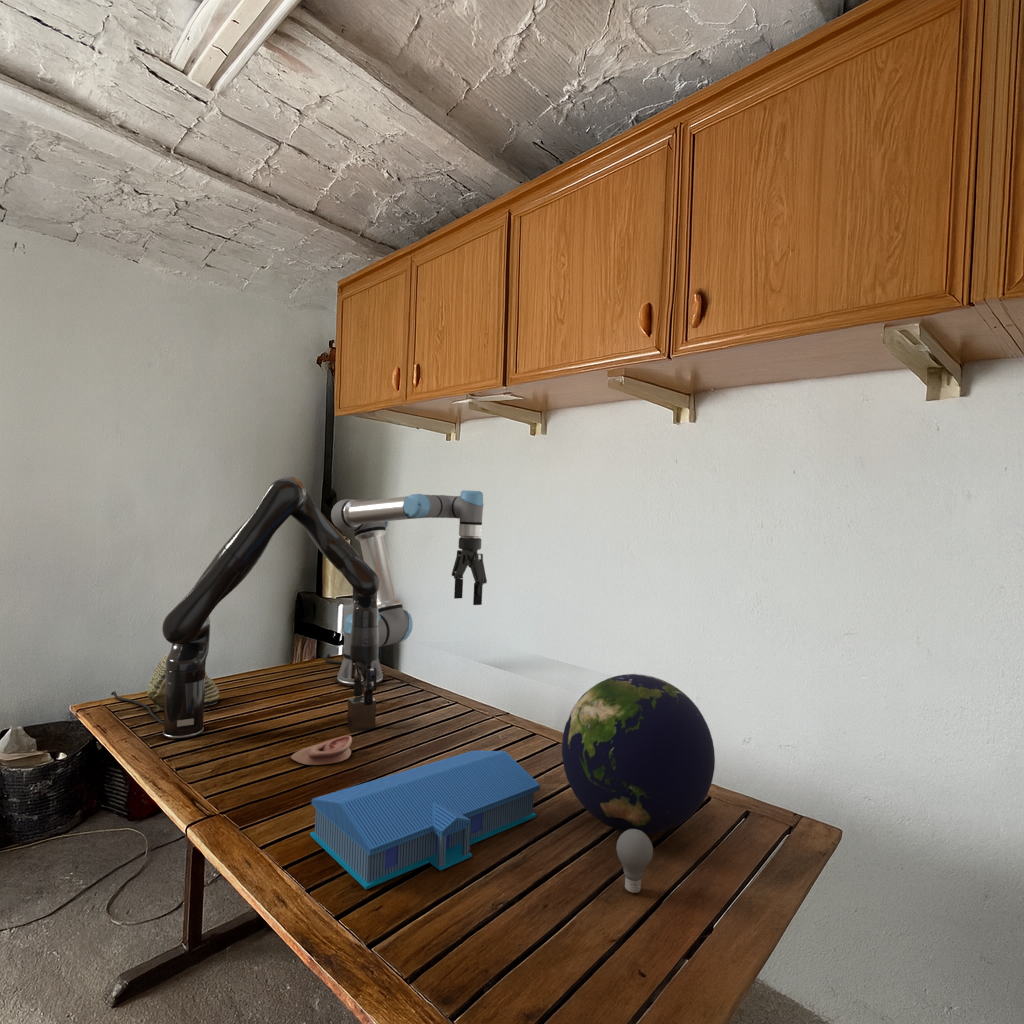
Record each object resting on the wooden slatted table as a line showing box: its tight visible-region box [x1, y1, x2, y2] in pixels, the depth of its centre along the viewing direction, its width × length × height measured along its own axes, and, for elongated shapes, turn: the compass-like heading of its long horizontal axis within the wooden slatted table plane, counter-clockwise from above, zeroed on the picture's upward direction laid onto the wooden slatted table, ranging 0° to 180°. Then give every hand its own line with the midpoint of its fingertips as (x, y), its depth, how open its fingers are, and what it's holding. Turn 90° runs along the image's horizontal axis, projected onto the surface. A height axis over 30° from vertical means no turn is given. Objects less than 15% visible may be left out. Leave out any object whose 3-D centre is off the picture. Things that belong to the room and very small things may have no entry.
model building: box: [309, 750, 541, 890], centre depth 123 cm, size 39×24×10 cm, turn 132°
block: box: [346, 695, 377, 733], centre depth 174 cm, size 5×6×8 cm
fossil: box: [147, 654, 221, 712], centre depth 185 cm, size 9×18×15 cm, turn 132°
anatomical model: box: [290, 735, 353, 766], centre depth 154 cm, size 13×4×12 cm
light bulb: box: [615, 829, 654, 894], centre depth 106 cm, size 6×6×10 cm
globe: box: [561, 673, 716, 836], centre depth 127 cm, size 30×30×30 cm
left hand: (362, 700), depth 174 cm, fingers open, 8 cm apart
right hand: (467, 601), depth 209 cm, fingers open, 13 cm apart
